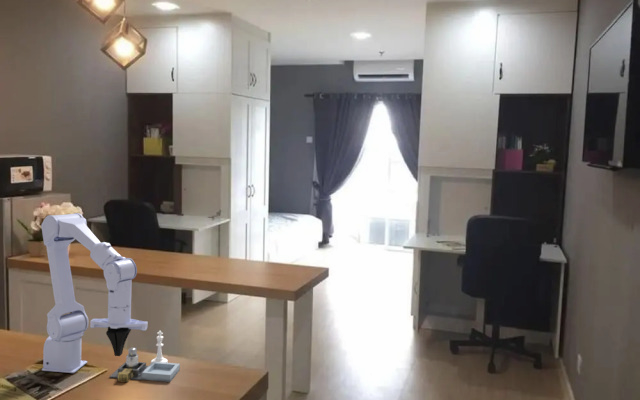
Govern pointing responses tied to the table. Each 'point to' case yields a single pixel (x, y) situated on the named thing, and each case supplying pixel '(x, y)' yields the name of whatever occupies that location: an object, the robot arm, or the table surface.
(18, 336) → the table surface
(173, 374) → the tray
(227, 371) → the table surface
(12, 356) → the table surface
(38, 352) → the table surface
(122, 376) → the tan stepped block
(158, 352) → the chess piece
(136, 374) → the socket
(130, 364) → the stepped metal cylinder
